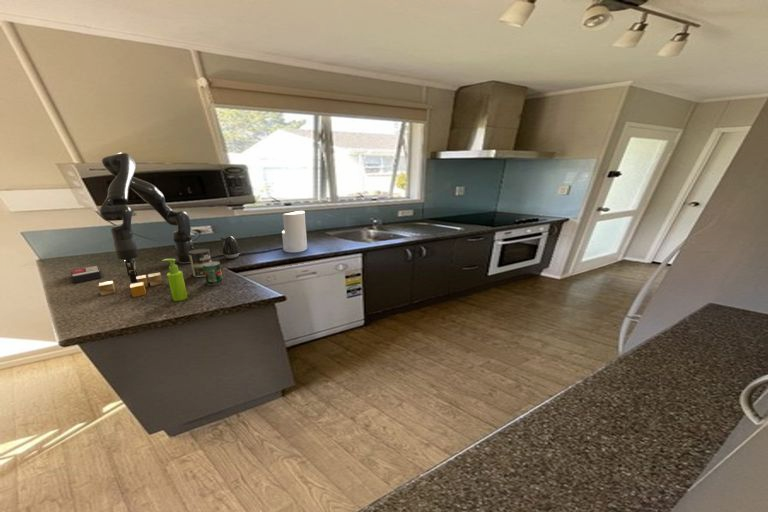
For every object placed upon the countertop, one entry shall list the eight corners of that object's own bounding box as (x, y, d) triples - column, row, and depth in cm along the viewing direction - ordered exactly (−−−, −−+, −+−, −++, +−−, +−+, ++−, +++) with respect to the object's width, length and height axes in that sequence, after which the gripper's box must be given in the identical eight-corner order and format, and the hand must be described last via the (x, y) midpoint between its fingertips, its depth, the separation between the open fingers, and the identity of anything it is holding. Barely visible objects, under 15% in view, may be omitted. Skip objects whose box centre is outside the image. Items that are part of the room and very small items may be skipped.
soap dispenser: (175, 295, 140) (166, 257, 134) (190, 295, 140) (181, 257, 134) (167, 301, 134) (157, 261, 128) (183, 300, 135) (174, 261, 129)
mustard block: (145, 290, 144) (143, 281, 143) (145, 294, 141) (143, 285, 139) (132, 293, 141) (130, 284, 140) (132, 297, 138) (129, 287, 136)
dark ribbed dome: (225, 255, 198) (221, 234, 194) (241, 254, 201) (238, 233, 197) (222, 260, 189) (218, 238, 184) (239, 259, 192) (236, 237, 187)
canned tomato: (204, 282, 156) (201, 263, 152) (220, 278, 161) (217, 260, 158) (208, 286, 150) (205, 267, 147) (225, 282, 156) (221, 263, 152)
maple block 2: (162, 280, 157) (159, 272, 155) (162, 283, 153) (160, 275, 151) (150, 282, 154) (148, 274, 152) (150, 286, 150) (148, 277, 148)
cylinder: (312, 248, 219) (309, 212, 210) (294, 253, 205) (291, 215, 196) (296, 244, 228) (293, 209, 219) (278, 249, 214) (274, 212, 205)
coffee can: (217, 271, 170) (213, 249, 166) (201, 278, 161) (197, 254, 156) (204, 269, 173) (200, 247, 169) (188, 275, 164) (183, 252, 160)
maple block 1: (115, 289, 145) (112, 280, 144) (114, 292, 142) (112, 283, 140) (102, 292, 142) (99, 282, 141) (101, 295, 139) (98, 286, 137)
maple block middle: (148, 283, 153) (145, 274, 151) (148, 286, 149) (145, 277, 148) (136, 285, 150) (133, 276, 148) (135, 288, 146) (133, 279, 145)
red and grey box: (97, 265, 167) (99, 270, 157) (99, 271, 169) (101, 277, 159) (70, 269, 160) (70, 275, 150) (73, 276, 161) (73, 283, 151)
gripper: (136, 250, 130) (144, 282, 135) (136, 243, 141) (144, 273, 146) (113, 252, 126) (123, 286, 131) (116, 245, 136) (125, 276, 141)
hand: (134, 279), depth 138 cm, fingers open, 8 cm apart
